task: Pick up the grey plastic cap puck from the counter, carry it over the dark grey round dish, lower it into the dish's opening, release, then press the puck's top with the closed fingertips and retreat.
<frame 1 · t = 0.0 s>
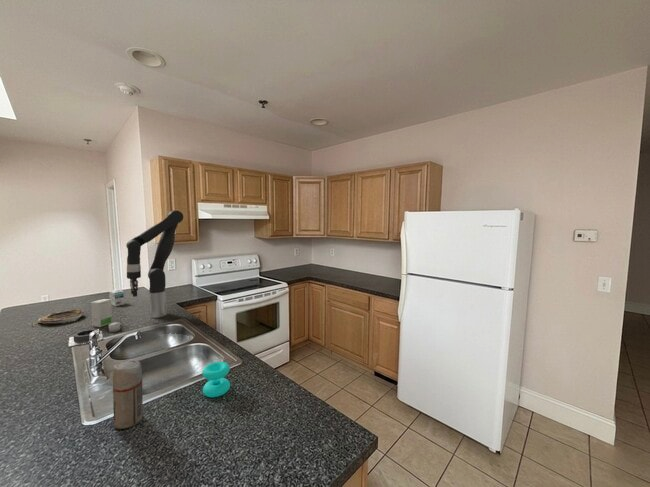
hand: (134, 295, 178), 17 cm above the countertop, tool pointing down, fingers open, 8 cm apart
skincare box: (102, 324, 173), on the countertop
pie: (63, 321, 179), on the countertop
cap: (114, 330, 164), on the countertop
brown cylinder: (129, 421, 91), on the countertop
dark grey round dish: (86, 339, 152), on the countertop
light bulb box: (117, 304, 213), on the countertop
teal spool: (216, 391, 107), on the countertop
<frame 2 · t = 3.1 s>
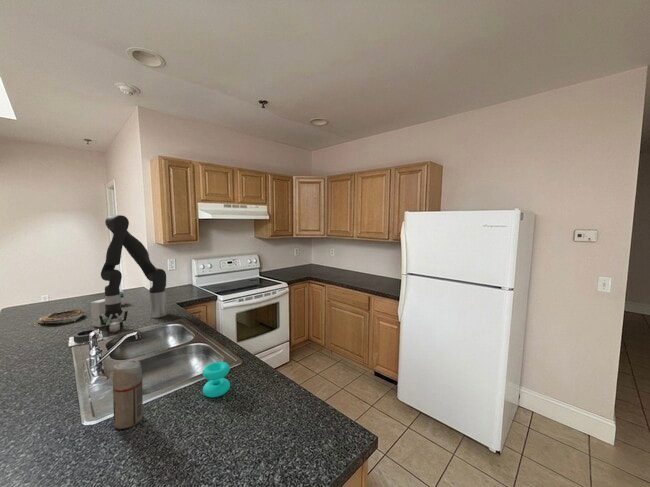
hand: (114, 329, 164), 0 cm above the countertop, tool pointing down, fingers closed on cap, 5 cm apart
cap: (114, 330, 164), on the countertop, touching gripper
everything else where it was.
when the fingers open (4 cm above the countertop, at t = 7.3 s): cap drops 3 cm, resting on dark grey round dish.
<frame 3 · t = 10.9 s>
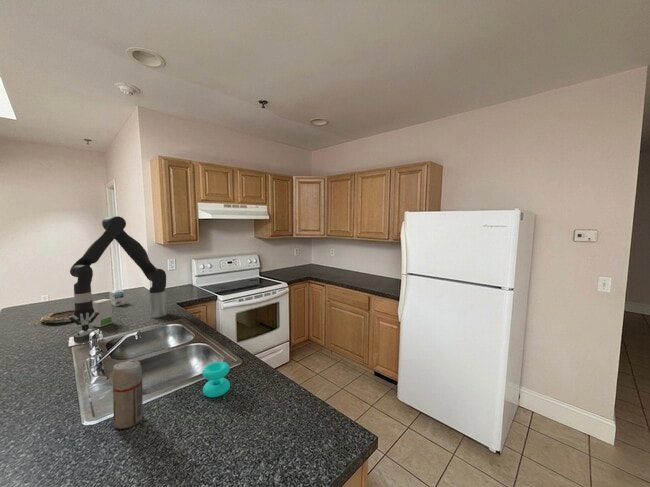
hand: (85, 330, 151), 5 cm above the countertop, tool pointing down, fingers closed
cap: (86, 338, 152), point 1 cm above the countertop, touching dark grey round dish, gripper
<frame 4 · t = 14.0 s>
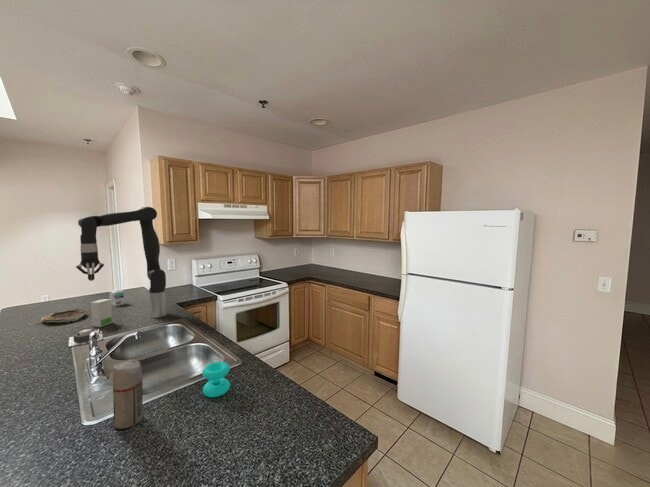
hand: (91, 280, 159), 31 cm above the countertop, tool pointing down, fingers closed
cap: (86, 338, 152), point 1 cm above the countertop, touching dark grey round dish
at the end: cap 0.0 cm off-centre on the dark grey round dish, point 0.6 cm above the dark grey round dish's base; cap tilted 0°; the gripper is holding nothing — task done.
